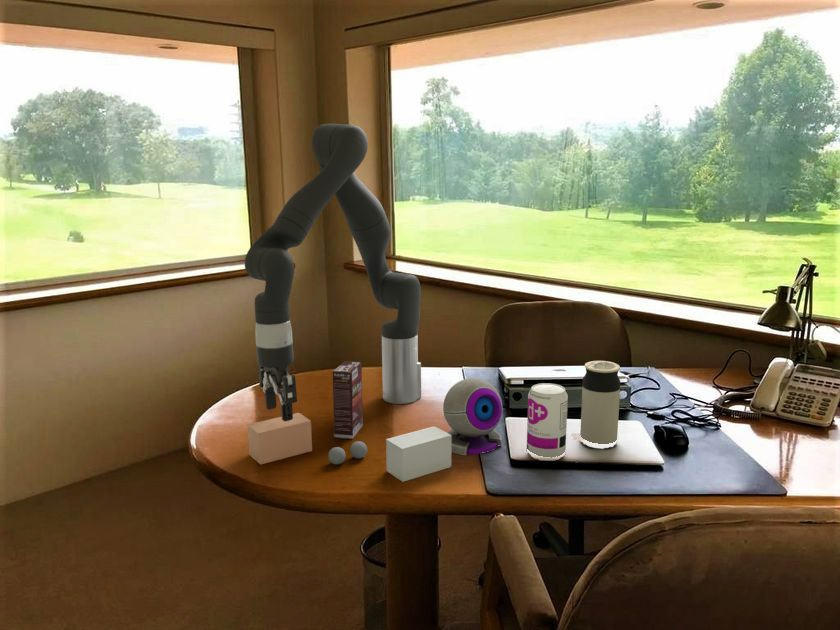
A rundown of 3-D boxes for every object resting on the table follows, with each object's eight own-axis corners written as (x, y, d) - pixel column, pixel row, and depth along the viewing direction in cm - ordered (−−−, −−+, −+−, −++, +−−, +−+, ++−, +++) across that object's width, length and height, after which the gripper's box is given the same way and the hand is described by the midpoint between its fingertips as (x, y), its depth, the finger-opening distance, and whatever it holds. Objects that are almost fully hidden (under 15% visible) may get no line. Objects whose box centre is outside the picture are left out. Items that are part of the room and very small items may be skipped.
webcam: (462, 460, 155) (463, 392, 152) (432, 439, 166) (432, 376, 162) (512, 447, 161) (514, 382, 158) (480, 428, 172) (481, 367, 168)
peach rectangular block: (300, 442, 165) (298, 412, 163) (312, 450, 160) (310, 420, 159) (249, 454, 158) (247, 424, 157) (260, 464, 154) (258, 433, 152)
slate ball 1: (340, 458, 156) (340, 442, 155) (348, 464, 153) (348, 448, 152) (325, 462, 154) (324, 446, 153) (333, 468, 151) (333, 452, 150)
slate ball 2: (361, 452, 159) (361, 437, 158) (370, 458, 156) (370, 442, 155) (347, 456, 157) (346, 441, 156) (355, 462, 154) (355, 446, 153)
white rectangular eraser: (434, 456, 157) (434, 426, 155) (451, 466, 152) (451, 435, 150) (386, 471, 150) (386, 439, 148) (402, 481, 145) (402, 448, 144)
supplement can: (542, 466, 152) (544, 397, 148) (519, 451, 159) (520, 385, 155) (573, 458, 155) (576, 391, 152) (549, 444, 162) (551, 380, 159)
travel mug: (623, 442, 163) (628, 365, 159) (605, 453, 158) (609, 373, 154) (591, 433, 169) (595, 358, 164) (573, 443, 163) (576, 365, 159)
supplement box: (353, 439, 166) (351, 372, 162) (333, 438, 167) (330, 371, 163) (364, 425, 174) (362, 361, 171) (344, 424, 175) (342, 360, 172)
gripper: (305, 346, 150) (309, 420, 154) (277, 331, 161) (281, 401, 165) (271, 352, 146) (276, 428, 150) (244, 337, 157) (250, 408, 161)
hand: (279, 414), depth 158 cm, fingers open, 8 cm apart
